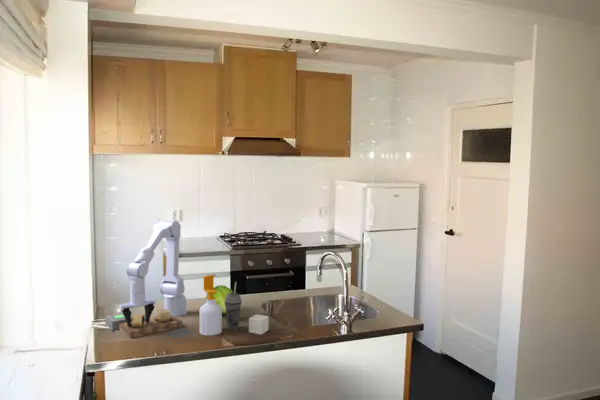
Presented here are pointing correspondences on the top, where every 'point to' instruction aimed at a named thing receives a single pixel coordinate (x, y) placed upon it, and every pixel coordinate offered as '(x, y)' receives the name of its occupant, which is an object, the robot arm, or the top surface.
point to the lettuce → (220, 296)
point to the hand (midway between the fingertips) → (138, 324)
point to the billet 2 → (163, 316)
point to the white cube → (258, 324)
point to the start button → (119, 316)
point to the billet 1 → (138, 321)
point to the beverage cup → (233, 309)
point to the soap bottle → (210, 311)
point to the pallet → (150, 327)
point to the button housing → (114, 321)
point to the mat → (179, 333)
